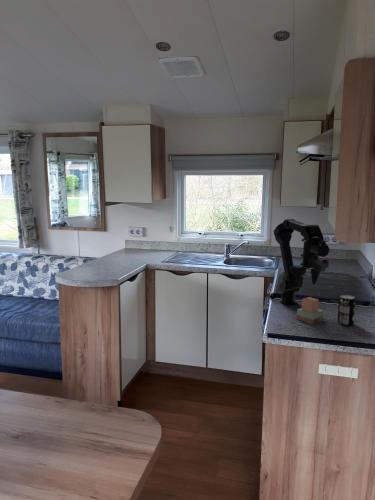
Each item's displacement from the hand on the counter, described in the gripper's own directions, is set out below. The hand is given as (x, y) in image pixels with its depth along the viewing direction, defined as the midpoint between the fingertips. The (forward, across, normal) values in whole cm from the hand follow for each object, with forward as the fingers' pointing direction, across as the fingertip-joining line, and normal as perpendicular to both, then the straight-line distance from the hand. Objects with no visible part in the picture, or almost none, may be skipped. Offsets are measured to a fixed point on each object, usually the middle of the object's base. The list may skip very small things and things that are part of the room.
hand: (307, 285), depth 179 cm
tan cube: (+8, -7, -8) cm, 13 cm away
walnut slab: (+13, -6, -8) cm, 16 cm away
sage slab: (+11, -6, -8) cm, 15 cm away
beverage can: (+13, +2, -19) cm, 23 cm away
